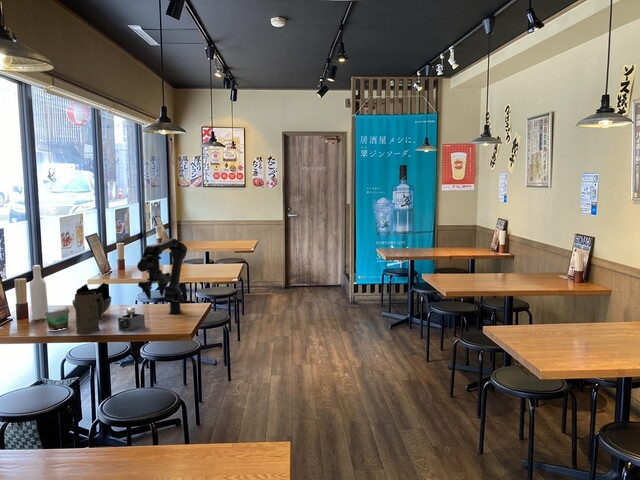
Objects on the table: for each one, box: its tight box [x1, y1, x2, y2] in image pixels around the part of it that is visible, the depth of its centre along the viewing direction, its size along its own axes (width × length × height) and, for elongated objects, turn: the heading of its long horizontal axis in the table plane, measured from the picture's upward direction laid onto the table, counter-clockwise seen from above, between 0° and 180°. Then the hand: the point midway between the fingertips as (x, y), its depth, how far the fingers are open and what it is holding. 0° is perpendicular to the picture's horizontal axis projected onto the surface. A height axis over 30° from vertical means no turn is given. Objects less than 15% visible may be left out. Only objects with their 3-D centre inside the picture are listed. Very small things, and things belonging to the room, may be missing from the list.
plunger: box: [126, 307, 136, 318], centre depth 266 cm, size 7×7×10 cm
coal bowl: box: [71, 282, 112, 315], centre depth 290 cm, size 20×20×19 cm
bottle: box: [29, 264, 49, 319], centre depth 287 cm, size 8×8×30 cm
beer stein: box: [74, 292, 104, 335], centre depth 264 cm, size 15×11×20 cm
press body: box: [117, 312, 146, 332], centre depth 265 cm, size 12×9×6 cm
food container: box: [45, 306, 70, 330], centre depth 267 cm, size 12×6×10 cm, turn 148°
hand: (155, 297), depth 278 cm, fingers open, 9 cm apart
